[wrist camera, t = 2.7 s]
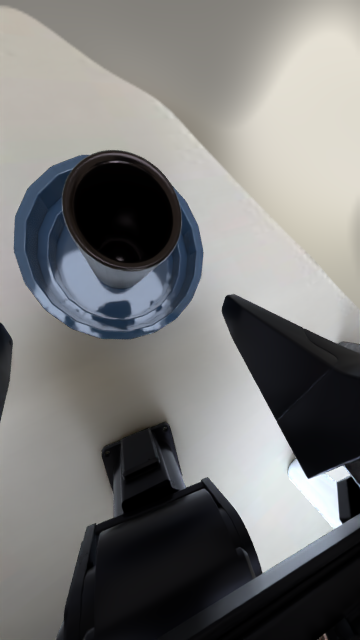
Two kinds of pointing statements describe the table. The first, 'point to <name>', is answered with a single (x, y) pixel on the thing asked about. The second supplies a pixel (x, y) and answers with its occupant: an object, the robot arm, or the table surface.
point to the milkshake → (318, 492)
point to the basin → (79, 279)
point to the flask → (351, 346)
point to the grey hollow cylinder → (121, 215)
